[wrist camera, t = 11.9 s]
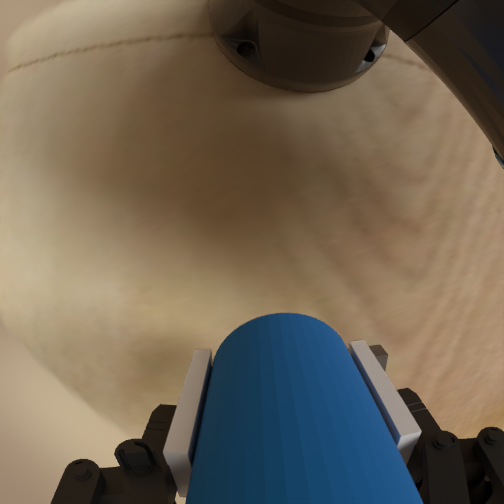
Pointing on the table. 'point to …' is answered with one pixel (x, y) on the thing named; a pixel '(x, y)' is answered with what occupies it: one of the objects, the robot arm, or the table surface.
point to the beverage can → (293, 423)
